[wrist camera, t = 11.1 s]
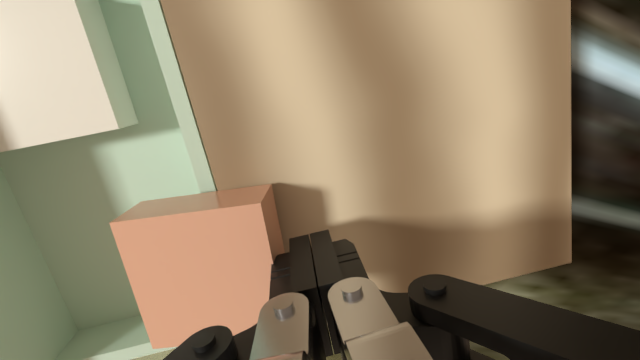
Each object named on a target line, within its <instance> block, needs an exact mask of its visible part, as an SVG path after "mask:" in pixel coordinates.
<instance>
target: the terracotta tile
mask: <svg viewBox="0 0 640 360" xmlns="http://www.w3.org/2000/svg"><path fill="white" fill-rule="evenodd" d="M109 224H110V227H111V230H112V233H113V236H114V238H115V241H116V244H117V247H118V250H119V253H120V256H121V259H122V262H123V264H124V267H125V270H126V273H127V276H128V279H129V282H130V285H131V288H132V290H133V293H134V296H135V299H136V302H137V305H138V308H139V311H140V314H141V317H142V319H143V322H144V325H145V328H146V331H147V334H148V337H149V340H150V343H151V345H152V348H153V349H159V348H169V347H178V346H179V345H181V344H182V343H183V342H184V341H185V340H186V339H188V338H189V337H190V336H191V335H193V334H194V333H196V332H198V331H200V330H202V329H204V328H207V327H210V326H217V325H220V326H225V327H228V328H229V329H230V330H231V332H232V335H233V336H234V335H236V334H238V333H240V332H242V331H244V330H247V329H248V328H250V327H252V326H254V325H255V324H256V323H257V322H258V318H259V313H260V310H261V308H262V307H263V305H264V304H265V303H266V302H267V301H269V292H270V280H271V279H270V277H271V264H274V260H275V258H276V256H277V255H279V254H283V253H285V251H284V246H283V241H282V235H281V230H280V225H279V220H278V215H277V210H276V205H275V200H274V195H273V190H272V185H271V184H266V185H259V186H251V187H244V188H237V189H229V190H222V191H214V192H207V193H199V194H192V195H184V196H177V197H169V198H162V199H155V200H147V201H141V202H139V203H138V204H136V205H135V206H133V207H132V208H131V209H129V210H128V211H126V212H125V213H123V214H122V215H120V216H119V217H117V218H116V219H114V220H113V221H111V222H110V223H109Z"/></svg>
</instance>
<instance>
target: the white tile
mask: <svg viewBox="0 0 640 360" xmlns="http://www.w3.org/2000/svg"><path fill="white" fill-rule="evenodd" d="M138 123H139V122H138V119H137V116H136V113H135V110H134V107H133V104H132V101H131V98H130V95H129V92H128V89H127V86H126V83H125V80H124V77H123V74H122V71H121V68H120V65H119V62H118V59H117V56H116V53H115V50H114V47H113V44H112V41H111V38H110V35H109V32H108V29H107V26H106V22H105V19H104V16H103V13H102V10H101V7H100V4H99V1H98V0H0V152H5V151H10V150H15V149H20V148H25V147H30V146H35V145H40V144H45V143H50V142H55V141H60V140H65V139H70V138H75V137H80V136H85V135H90V134H95V133H101V132H106V131H111V130H116V129H120V128H124V127H127V126H131V125H134V124H138Z"/></svg>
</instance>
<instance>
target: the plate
mask: <svg viewBox="0 0 640 360" xmlns="http://www.w3.org/2000/svg"><path fill="white" fill-rule="evenodd" d="M160 1H161V4H162V8H163V11H164V14H165V18H166V21H167V24H168V28H169V31H170V34H171V38H172V41H173V44H174V47H175V51H176V54H177V57H178V61H179V64H180V67H181V71H182V74H183V77H184V81H185V84H186V87H187V91H188V94H189V97H190V101H191V104H192V107H193V111H194V114H195V117H196V120H197V124H198V127H199V130H200V134H201V137H202V140H203V144H204V147H205V150H206V154H207V157H208V160H209V164H210V167H211V170H212V174H213V177H214V180H215V183H216V187H217V190H218V191H222V190H229V189H237V188H244V187H251V186H259V185H266V184H271V185H272V190H273V195H274V200H275V205H276V210H277V215H278V220H279V225H280V230H281V235H282V241H283V246H284V251H285V253H287V252H289V238H294V237H298V236H302V235H306V234H308V235H309V239H310V233H315V232H319V231H323V230H329V233H330V236H331V239H332V242H334V241H338V240H342V239H347V240H348V241H350V242H352V243H353V244H354V245H355V248H356V250H357V253H358V255H359V257H360V259H361V261H362V264H363V266H364V268H365V271H366V273H367V275H368V278H369V279H370V280H371V281H373V282H374V283H375V284H376V286H377V287H378V289H379V290H382V291H385V292H392V293H407V292H408V287H409V285H410V283H411V282H412V281H413V280H415V279H417V278H419V277H421V276H424V275H429V274H441V275H447V276H450V277H454V278H457V279H461V280H464V281H468V282H471V283H475V284H478V285H485V284H489V283H493V282H497V281H501V280H505V279H509V278H512V277H516V276H520V275H524V274H528V273H532V272H536V271H540V270H544V269H548V268H552V267H556V266H559V265H563V264H567V263H571V262H572V224H571V0H160ZM310 243H311V240H310ZM311 247H312V246H311ZM327 325H328V324H327Z"/></svg>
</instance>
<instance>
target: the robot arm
mask: <svg viewBox="0 0 640 360" xmlns="http://www.w3.org/2000/svg"><path fill="white" fill-rule="evenodd" d="M310 240H311V243H310ZM311 246H312V247H311ZM270 279H271V280H270V292H269V301H267V302H266V303H265V304H264V305H263V307H262V308H261V310H260V313H259V318H258V322H257V323H256V324H255V325H254V326H252V327H250V328H248V329H247V330H244V331H242V332H240V333H238V334H236V335H234V336H233V335H232V332H231V330H230V329H229V328H228V327H225V326H220V325H217V326H210V327H207V328H204V329H202V330H200V331H198V332H196V333H194V334H193V335H191V336H190V337H189V338H188V339H186V340H185V341H184V342H183V343H182V344H181V345H179V346H178V347H177V348H176V349H175V350H174V351H172V352H171V353H170V354H169V355H168V356H166V357H165V358H164V359H163V360H326V357H327V356H331V355H333V352H332V347H331V341H332V345H333V349H334V353H335V354H338V353H341V356H342V360H495V359H492V358H490V357H488V356H485V355H483V354H481V353H478V352H476V351H474V350H471V349H470V345H469V340H470V341H472V342H474V343H477V344H479V345H482V346H484V347H487V348H489V349H492V350H494V351H496V352H499V353H501V354H503V355H505V356H506V357H508V358H509V359H510V360H640V331H638V330H635V329H631V328H628V327H625V326H621V325H618V324H614V323H611V322H607V321H604V320H600V319H597V318H593V317H590V316H586V315H583V314H579V313H576V312H572V311H569V310H565V309H562V308H558V307H555V306H551V305H548V304H544V303H541V302H537V301H534V300H531V299H527V298H524V297H520V296H517V295H513V294H510V293H506V292H503V291H499V290H496V289H492V288H489V287H485V286H482V285H478V284H475V283H471V282H468V281H464V280H461V279H457V278H454V277H450V276H447V275H441V274H429V275H424V276H421V277H419V278H417V279H415V280H413V281H412V282H411V283H410V285H409V287H408V292H407V293H392V292H385V291H382V290H379V289H378V287H377V286H376V284H375V283H374V282H373V281H371V280H370V279H369V278H368V275H367V273H366V271H365V268H364V266H363V264H362V261H361V259H360V257H359V255H358V253H357V250H356V248H355V245H354V244H353V243H352V242H350V241H348V240H347V239H342V240H338V241H334V242H332V239H331V236H330V233H329V230H323V231H319V232H315V233H310V239H309V235H308V234H306V235H302V236H298V237H294V238H289V252H287V253H283V254H279V255H277V256H276V258H275V260H274V264H271V277H270ZM327 324H328V325H327ZM328 328H329V330H328ZM329 332H330V336H329ZM330 337H331V341H330Z"/></svg>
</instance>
